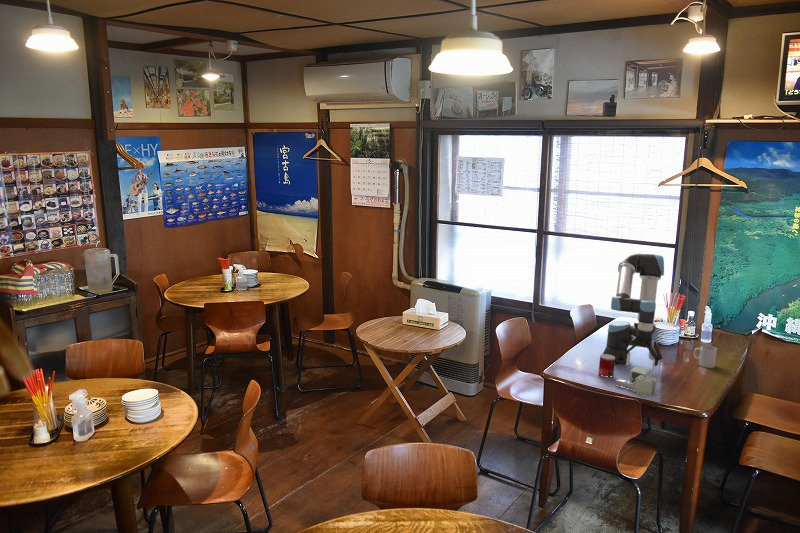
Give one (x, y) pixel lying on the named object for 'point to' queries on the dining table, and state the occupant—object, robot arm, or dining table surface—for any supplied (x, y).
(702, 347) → the mug
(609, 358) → the canned food
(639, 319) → the robot arm
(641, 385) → the pale grey block
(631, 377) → the beige hollow box
